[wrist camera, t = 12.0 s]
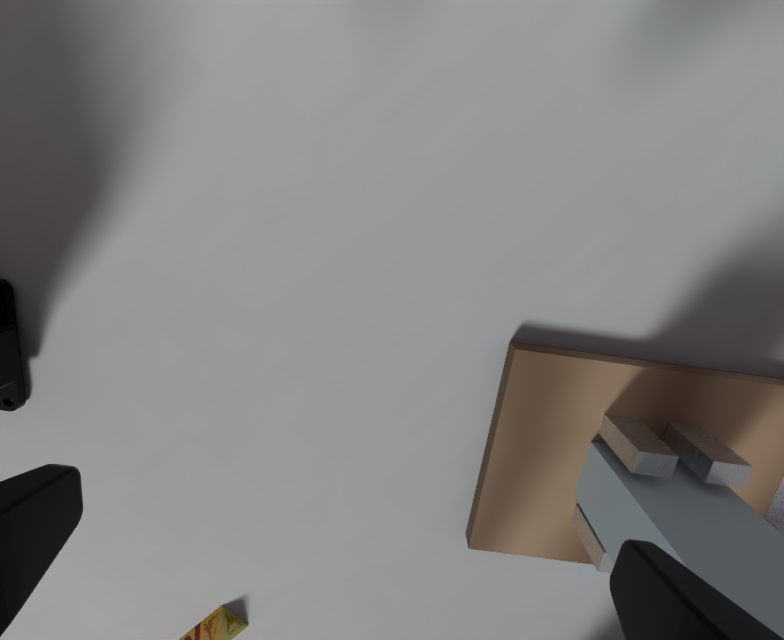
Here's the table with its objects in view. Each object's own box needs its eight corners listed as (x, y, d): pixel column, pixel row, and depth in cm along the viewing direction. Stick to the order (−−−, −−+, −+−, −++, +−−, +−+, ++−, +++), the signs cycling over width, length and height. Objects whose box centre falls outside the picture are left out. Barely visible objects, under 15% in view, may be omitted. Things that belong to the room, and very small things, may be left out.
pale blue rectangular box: (573, 494, 21) (720, 750, 11) (590, 441, 20) (765, 668, 10) (673, 508, 21) (903, 772, 11) (694, 456, 20) (961, 694, 11)
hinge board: (465, 533, 23) (478, 602, 19) (509, 341, 20) (536, 377, 16) (720, 566, 23) (783, 640, 19) (803, 382, 20) (898, 426, 16)
